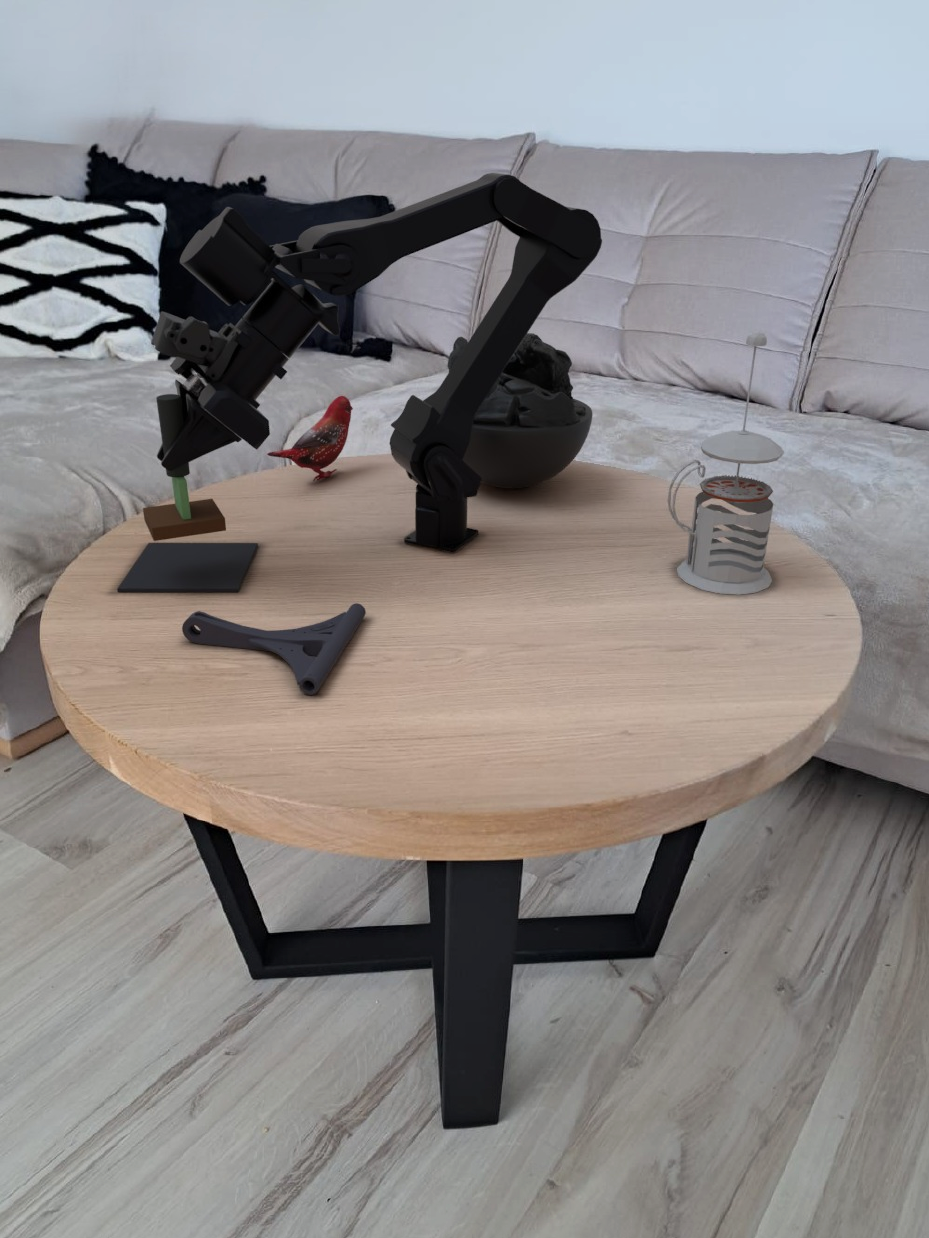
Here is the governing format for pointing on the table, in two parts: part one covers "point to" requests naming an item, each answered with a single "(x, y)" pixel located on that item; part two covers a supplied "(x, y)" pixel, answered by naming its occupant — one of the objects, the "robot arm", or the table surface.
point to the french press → (730, 512)
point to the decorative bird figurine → (322, 440)
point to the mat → (190, 567)
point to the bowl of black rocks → (527, 418)
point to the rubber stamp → (179, 488)
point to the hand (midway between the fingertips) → (162, 464)
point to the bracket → (284, 642)
